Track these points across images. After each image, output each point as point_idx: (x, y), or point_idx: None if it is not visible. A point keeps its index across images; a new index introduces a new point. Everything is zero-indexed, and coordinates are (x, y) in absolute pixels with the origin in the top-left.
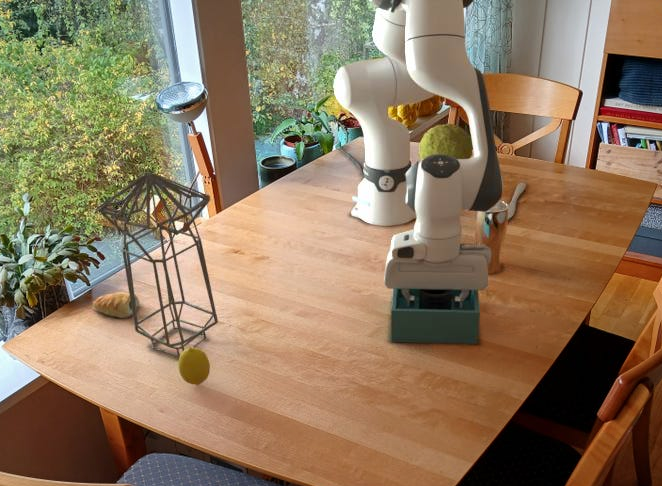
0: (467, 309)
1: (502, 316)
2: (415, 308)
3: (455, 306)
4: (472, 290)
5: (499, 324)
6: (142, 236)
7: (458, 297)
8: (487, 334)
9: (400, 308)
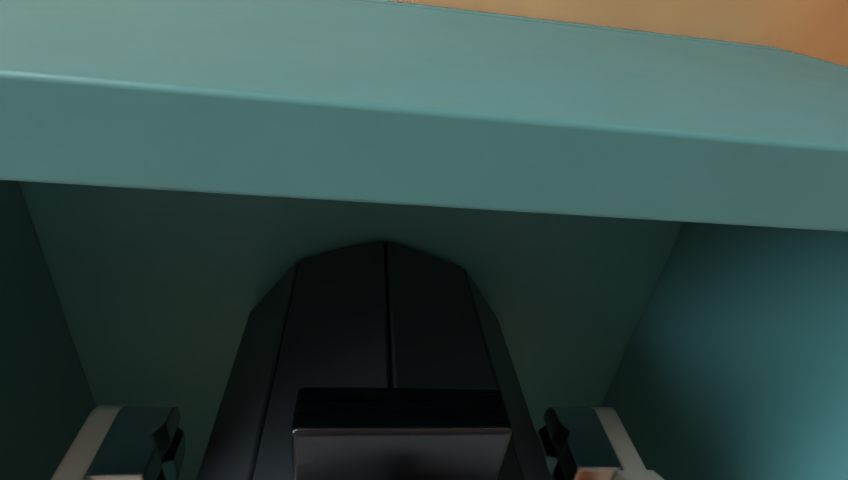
0: (648, 243)
1: None
2: (211, 223)
3: None
4: (801, 414)
5: None
6: None
7: (606, 477)
8: None
9: (62, 222)
